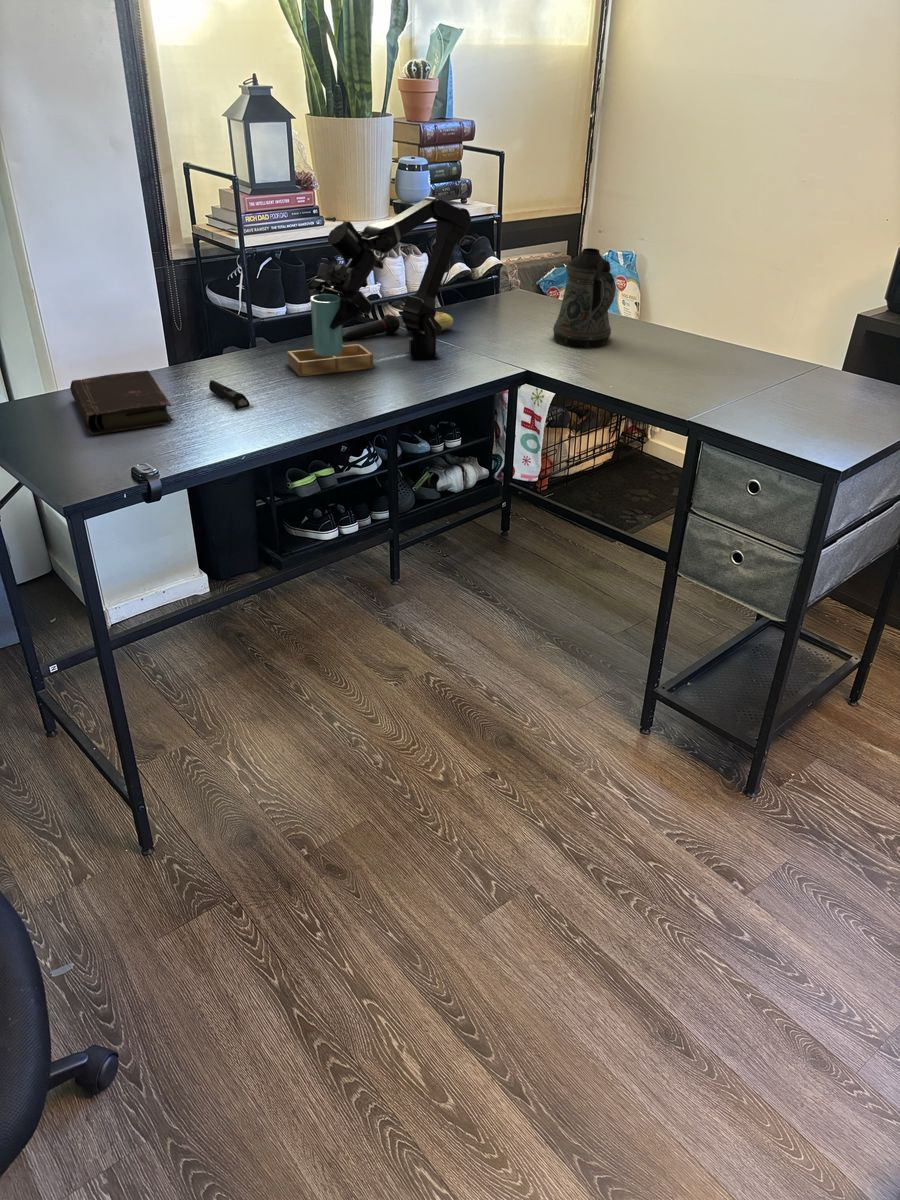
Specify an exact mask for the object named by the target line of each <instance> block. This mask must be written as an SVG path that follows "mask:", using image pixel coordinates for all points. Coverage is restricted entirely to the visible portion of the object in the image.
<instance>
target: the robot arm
mask: <svg viewBox="0 0 900 1200" xmlns="http://www.w3.org/2000/svg"><path fill="white" fill-rule="evenodd" d="M431 219H433V220H435V221H436V224H435V230H436V240H435V243H434V246H433V247H432V248H433V249H432V251H431V254H430V256H429V259H428V262H427V265H426V267H425V270H424V272H423V275H422V278H421V281H420V284H419V286H418V289H417V291H416V292H415V293H414V294H413V295H409V294H408V295H407V296H406V298H405V301H404V305H403V306H402V307H401V311H402V312H401V319H402V323H403V324H405V326H406V328H405V329H406V331H407V332H410V337H409V338H408V351H409V355H410V356H411V357H412V359H413V360H432V359H435V360H436V359H438V355H437V336H440V335H441V334H442V331H443V330H442V327H441V325H440V324H439V323H438V322H437V321H436V320H435V319H434V318H435V314H436V312H437V306H436V297H437V295H438V292H439V289H440V288H441V287H440V286H441V284H442V282H443V279H444V275H445V273H446V271H447V268H448V265H449V262H450V260H451V257H452V255H453V252H454V250H455V247H456V245H457V244H458V243H459V242H461V241H462V239H464V238H465V236H466V234H467V233H468V230H469V228H471V223H472V217H471V214H470V212H469V210H468V208H465V207H459V206H455V205H453V204H450V203H447V202H445V201H444V200H443V199H441V198H439V197H434V196H425V197H423V198H422V199H421V201H419V202H417V203H415V204H414V205H412V206H410V207H409V208H407V209H405V210H404V211H402V212H401V213H399V214H397V215H395V216H394V217H392V218H390V219H387V220H381V221H377V222H373V223H370V224H368V225H367V226H365V227H364V229H363V230H361V231H357V229H356V228H355V227H354V224H353V223H352V222H351V221H349V220H343V221H342V223H340V224H338V225H336V226H335V227H334V228H333V229H331V230H330V231H329V234H328V236H327V242H328V243H329V244H330V245H331V247H332V248H333V249H334V250H335V251H336V252H337V253H338V255H340V256H341V257H342V258H343V259H344V260H349V261H348V262H347V263H346V265H342V264H339V263H338V264H336V265H335V266H332V265H331V264H330V265H329V264H326V263H322V262H320V263H319V267H318V270H317V273H316V274H317V275H316V277H318V278H314V279H313V280H312V281H311V283H310V285H309V287H310V288H311V289H312V290H313V291H312V292H313V293H314V295H318V294H334V295H337V296H340V308H339V310H338V311H337V313H336V315H335V317H334V319H333V321H332V323H331V325H330V328H331V329H332V330H334V329H335V328H337V327H339V326H340V325H342V326H343V325H344V324H345V323H347V322H349V321H351V320H353V319H355V318H357V317H361V316H362V315H363V314H364V315H369V314H370V312H371V311H372V309H373V303H372V302H371V300H369V298H368V297H367V296H366V295H365V294H364V293H363V291H360V290H361V289H362V288H363V289H364V288H366V287H368V283H367V282H366V280H367V279H368V277H369V276H370V274H371V273H372V271H373V270H374V268H377V269H381V270H383V269H384V263H383V257H382V256H380V255H376V254H375V252H378V253H382V254H388V253H389V252H390V251H392V250H393V249H394V248H395V247H396V246H397V245H398V244H399V242H400V241H401V238H402V237H404V235H406V234H408V233H410V232H411V231H413V230H414V229H416V228H418V227H420V226H421V225H423V224H424V223H426V222H427V221H429V220H431ZM320 278H323V279H320ZM324 279H325V280H324ZM441 330H442V331H441Z"/></svg>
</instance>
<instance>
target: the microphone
mask: <svg viewBox="0 0 900 1200" xmlns="http://www.w3.org/2000/svg"><path fill="white" fill-rule="evenodd" d="M400 326H401V323H400V320H399V318H398V317H397V316H396V315H393V314H390V313H387V314H385V315H384V316H383V319H382V320H377V321H374V322H372V323H370V324H366V325H364V326H361V327H358V328H355V329H352V330H350V331H348V332H346V333H345V334H344V335H343V334H342V336H343V341H344V340H347V341H353V340H356V339H357V340H358V339H361V338H366V337H372V336H376V335H380V334H383V333H386V334H389V335H390V336H391V335H394V334H395V333H396V332H398V330H399V329H400Z"/></svg>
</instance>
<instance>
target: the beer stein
mask: <svg viewBox="0 0 900 1200" xmlns="http://www.w3.org/2000/svg"><path fill="white" fill-rule="evenodd" d="M611 270H612V269H611V264H610V261H608V260H606V259H605V258H604V257H603V256H602V255H601V253H600V249H597V248H594V247H593V248H591V247H588V248H587V247H586V248H583V249H582V251H581V252H580V253H579V254H578V255H577V256H575V257H574V258H573V259H571V260H570V261H569V262H568V263H567V264H566V265H565V273H566V275H567V278H566V283H565V288H564V291H563V297H562V300H561V301H562V302H561V306H560V310H559V312H558V316H557V319H556V321H555V323H554V324H553V327H552V331H553V339H554V341H555V343H556V344H559V345H561V346H564V347H570V348H577V349H595V348H601V347H604V346H606V345H608V342H609V340H610V337H611V334H612V328H611V325H610V319H609V317H610V316H609V310H610V308H611V307H612V304H613V303H614V300H615V297H616V293H617V291H616V290H617V288H616V287H617V286H616V281H615V278H614V275H613V274H612V273H611Z"/></svg>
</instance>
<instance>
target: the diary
mask: <svg viewBox="0 0 900 1200" xmlns="http://www.w3.org/2000/svg"><path fill="white" fill-rule="evenodd" d="M69 389H70V393H71V396H72V397H73V399H74V401H75V404H76V407H77V409H78V412H79V414H80V415H81V417H82V419H83V422H84V425H85V429H86V430H87V431H88V432H89V434H90V435H92V436H94V435H100V434H107V433H108V434H109V433H114V432H115V433H116V432H121V431H127V430H136V429H142V428H148V427H149V428H150V427H155V426H159V425H164V424H169V423H172V422H174V418H172V417H171V416H170V413H168V409H167V407H172V404H171V402H170V401H169V400H168V398H167V397H166V395H165V394H164V391H162V390H161V388H160V387H159V385H158V383H157V382H156V380H155V378H154V377H153V375H152V374H151V373H150V371H149V370H148V369H147V370H138V371H129V372H120V373H111V374H110V373H109V374H104V375H98V376H93V377H92V376H91V377H88V378H87V377H86V378H82V379H73V380H71V382H70V387H69Z"/></svg>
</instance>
